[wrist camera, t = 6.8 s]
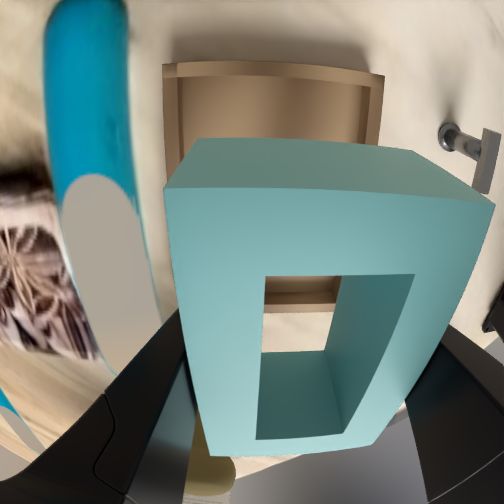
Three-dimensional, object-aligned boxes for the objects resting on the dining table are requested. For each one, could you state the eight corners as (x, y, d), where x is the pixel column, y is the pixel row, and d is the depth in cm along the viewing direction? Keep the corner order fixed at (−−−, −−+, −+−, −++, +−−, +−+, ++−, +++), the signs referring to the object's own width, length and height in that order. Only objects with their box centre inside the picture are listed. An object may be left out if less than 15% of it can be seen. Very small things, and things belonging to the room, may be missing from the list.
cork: (165, 353, 24) (143, 477, 15) (239, 353, 25) (239, 484, 15) (179, 393, 28) (166, 498, 18) (242, 393, 28) (243, 502, 18)
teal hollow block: (339, 398, 12) (354, 465, 9) (218, 403, 12) (215, 474, 9) (411, 150, 7) (495, 204, 4) (198, 138, 6) (163, 188, 4)
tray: (371, 74, 14) (384, 75, 12) (337, 294, 22) (343, 311, 20) (170, 65, 14) (162, 64, 12) (186, 294, 21) (182, 311, 20)
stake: (463, 119, 15) (506, 136, 11) (454, 169, 17) (493, 195, 13) (441, 113, 15) (484, 128, 11) (432, 165, 17) (471, 191, 13)
